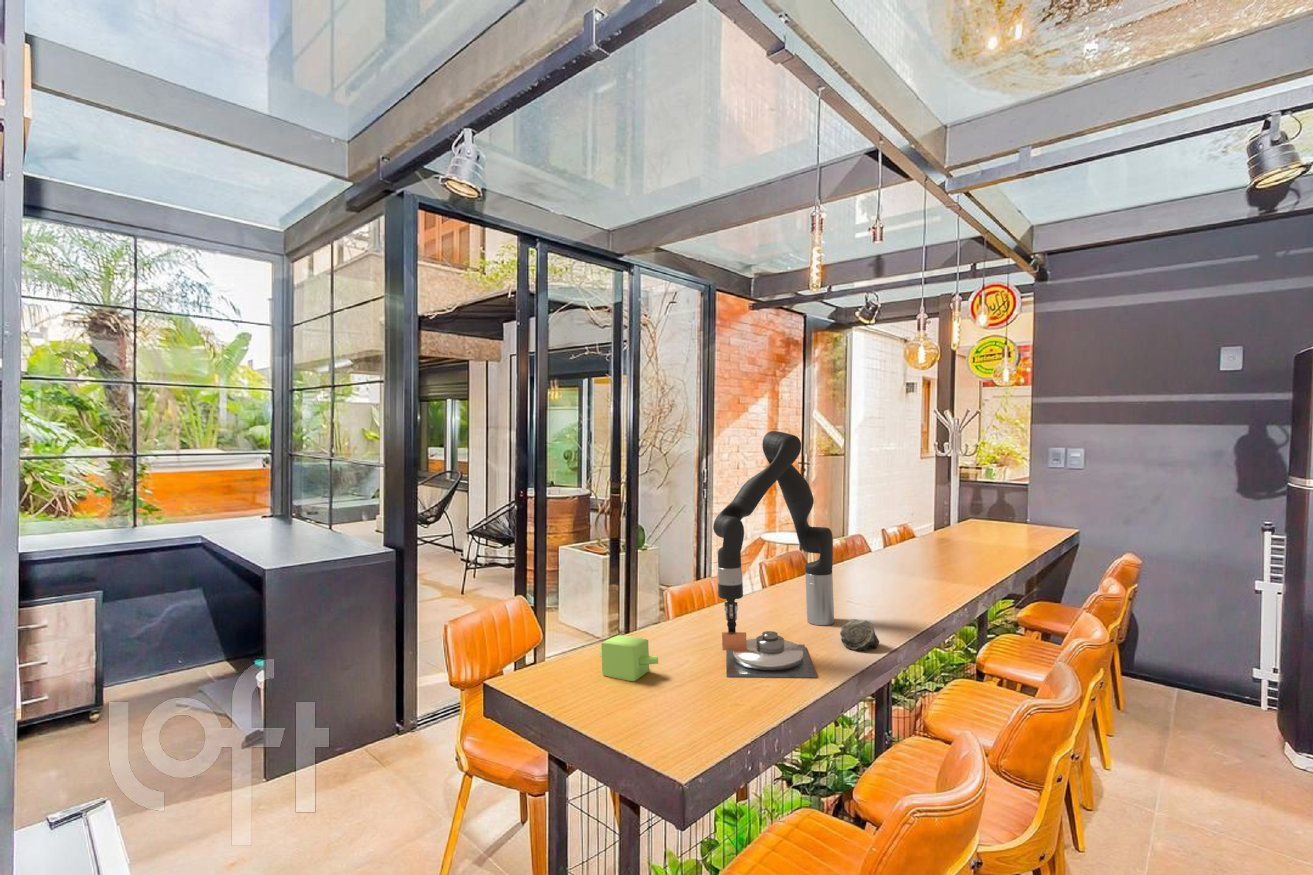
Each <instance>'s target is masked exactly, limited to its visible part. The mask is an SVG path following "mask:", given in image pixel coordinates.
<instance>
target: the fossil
mask: <svg viewBox="0 0 1313 875" xmlns="http://www.w3.org/2000/svg"><path fill="white" fill-rule="evenodd" d="M839 634H840V640H841V643H842V644H843V645H844V647H845V648H846V649H848V650H851V651H854V652H858V651H861V652H862V651H864V650H866V649H868V648H869V647H870V646H872V647H874V648H875V649H876V648H878V647H879V643H880V640H879V637H878V636H877V634H876V632H875V629H874V627H873V624H872V622H871V621H869V620H867V619H857V618H853V619H851V620H849V621H848V622H847V623H845V624H843V625H842V626H841V630H840V633H839Z"/></svg>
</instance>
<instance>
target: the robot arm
mask: <svg viewBox="0 0 1313 875" xmlns="http://www.w3.org/2000/svg"><path fill="white" fill-rule="evenodd" d="M762 451H763V452H762V453H763V454H764V456H765V458H766V460H767V463H768V466H766V467H765V468H763V470H761V471H760V472H758V473H756V474H755V475H754V476H752V477H751V478H749V479H748V480H746V482H744V484H743V485H742V486H741V487H740V489H739V491H738V492H737V493H736V495H735V496H734V498H733V500H732V501H731V502H730V503H729V504H727V505H726V506H725V507H724V508H723V509H722V511H720V512H719V514H718V515H717V516H716V518H715V519H714V522H713V528H712V530H713V532H714V534H715V535H716V536H717V537H719V538H721V539H723V540H722V547H720V548H718V549H717V550H718V551H717V594H718V598H720V599H722V600H726V602H725V601H724V611H725V620H726V621H727V623H726V625H727V630H728V631H727V632H737V631H736V630H737V629H736V627H737V620H738V610H739V608H738V604H739V603H738V601H736V600H740V599H742V598H743V596H744V590H743V589H744V586H743V585H744V584H743V583H744V582H743V580H744V579H743V570H742V556H741V554H742V553H741V552H742V549H743V543H744V539H745V538H744V537H745V527H744V524H743V521H742V519H743V518H745V517H749V516H751V515H752V513H754V511H755V509H756V508H757V507H758V504H760V502H761V500H762V499H763V497H765V495H766V494H767V492H768V491H769V490H770V488H771V487H772V486H773V485H774V483H776V482H777V484H778V485H779V488H780V491H781V493H782V497H783V499H784V501H785V504H786V506H787V509H788V511H789V513H790V516H791V519H792V521H793V525H794V530H795V533H796V537H797V539H798V543H799V544H798V545H799V546H800V548H801V550H802V551H803V552H805V553H810V554H819V558H818V559H817V560H814V561H811V562H808V563H806V564H805V566H804V574H805V576H804V577H805V597H806V598H805V599H806V621H807V622H808V623H809V624H811V625H816V626H830V625H834V623H835V610H834V609H835V607H834V606H835V605H834V604H835V603H834V582H833V581H834V580H833V579H834V578H833V565H834V559H833V558H834V557H833V556H834V555H833V552H834V551H833V548H834V546H833V545H834V537H833V533H832V530H831V528H829V527H824V526H823V527H822V526H810V524H809V523H808V517H809V515H810V513H811V512H812V509H813V506H814V503H815V501H814V499H815V498H814V495H813V493H812V490H811V487H810V484H809V482H808V480H807V479H806V478H805V477H804V476H803V475H802V474H801V472H800V471H799V470H798V469H797V468H796V467H795V466H794V463H795V461H796V460H797V459H798V458H799V455H800V454H801V451H802V441H801V440H800V438H799V437H798V436H796V435H794V434H792V433H791V434H790V433H786V432H782V431H780V430H779V431H778V430H771V431H768V432H767V433H766V434H764V437H763V438H762Z"/></svg>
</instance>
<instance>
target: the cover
mask: <svg viewBox="0 0 1313 875" xmlns="http://www.w3.org/2000/svg"><path fill="white" fill-rule="evenodd" d="M755 639H756V646H757V651H759V652H761V653H764V654H779V653H782V652H784V640H785V638H784V637H783V636H780V635H779V634H778V632H776V631H773V630H766V631H763V632H762V633H761V635H759V636H757V637H756V638H755Z"/></svg>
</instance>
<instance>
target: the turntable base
mask: <svg viewBox="0 0 1313 875" xmlns="http://www.w3.org/2000/svg"><path fill="white" fill-rule="evenodd" d="M798 645H799V646H800V647H801V648H802V650H803V661H802V662H801V663H800V664H799V665H797V666H795V667H792V668H788V669H781V670H761V669H754V668H750V667H746V666H743V665H741V664H739V663H737V662H736V661H735V660H734V658H733V650H725V651H726V652H725V653H726V654H725V655H726V663H725V664H726V667H725V668H726V672H725V673H726V678H786V679H787V678H790V679H791V678H793V679H794V678H796V679H797V678H798V679H799V678H801V679H803V678H804V679H817V673H816V670H815V669H814V666H813V663H812V661H811V660H812V659H811V657H810V655H809V653H808V651H807V648H806V645H805V644H798Z"/></svg>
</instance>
